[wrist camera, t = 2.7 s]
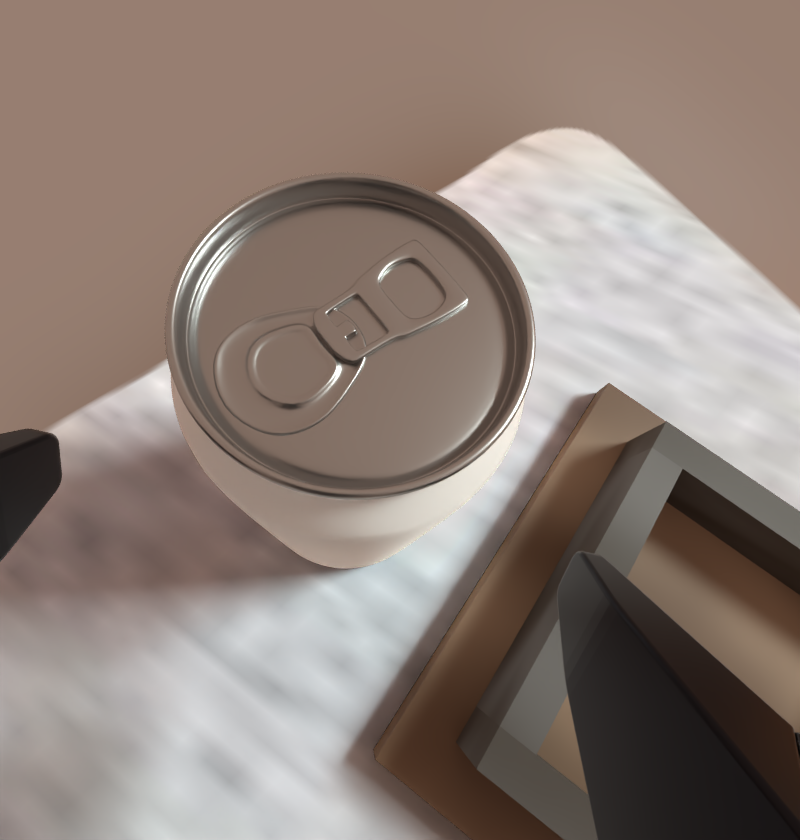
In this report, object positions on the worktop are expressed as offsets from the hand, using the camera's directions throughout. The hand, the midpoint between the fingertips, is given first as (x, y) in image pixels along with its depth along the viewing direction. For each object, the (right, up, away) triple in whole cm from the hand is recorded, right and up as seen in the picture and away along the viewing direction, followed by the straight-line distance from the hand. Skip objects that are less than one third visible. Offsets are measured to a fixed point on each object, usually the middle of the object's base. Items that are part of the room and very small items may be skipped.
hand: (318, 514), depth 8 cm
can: (-1, -1, +10) cm, 11 cm away
